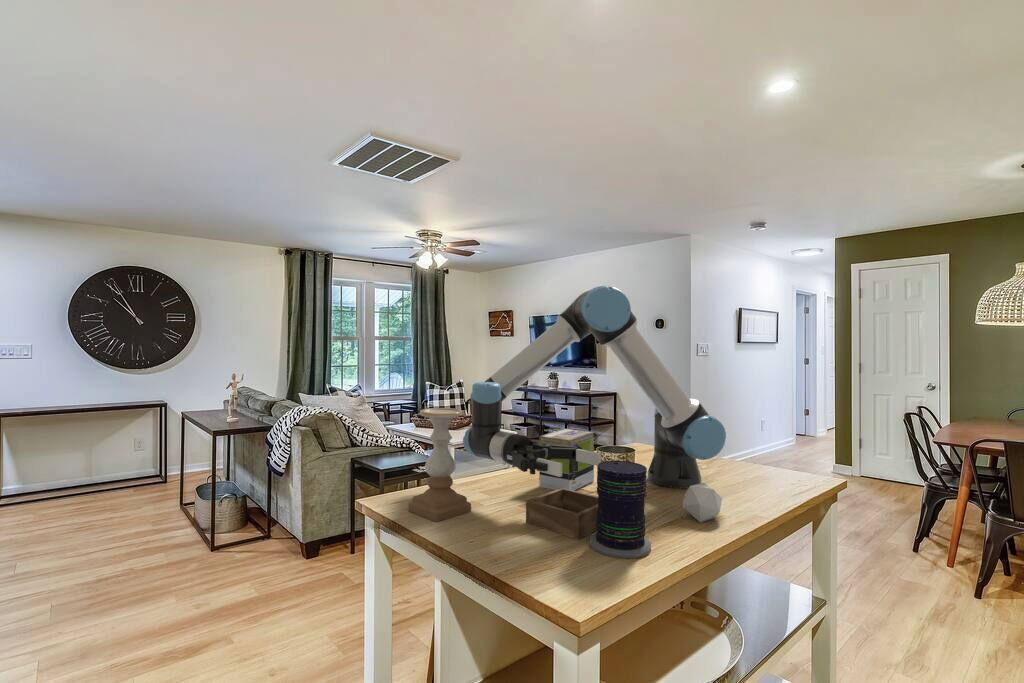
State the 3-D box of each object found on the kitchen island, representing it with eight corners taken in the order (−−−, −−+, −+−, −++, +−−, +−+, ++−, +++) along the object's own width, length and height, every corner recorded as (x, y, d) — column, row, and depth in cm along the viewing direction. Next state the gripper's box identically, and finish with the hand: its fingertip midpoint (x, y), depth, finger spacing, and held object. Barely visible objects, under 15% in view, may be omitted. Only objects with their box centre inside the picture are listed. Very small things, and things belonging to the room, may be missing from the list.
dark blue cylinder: (654, 549, 100) (656, 472, 99) (606, 552, 97) (608, 473, 97) (632, 530, 109) (633, 459, 109) (588, 532, 107) (590, 461, 107)
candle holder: (406, 510, 122) (408, 410, 122) (442, 500, 130) (444, 406, 130) (435, 522, 115) (437, 415, 115) (472, 510, 123) (474, 411, 123)
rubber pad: (608, 530, 112) (609, 525, 112) (661, 545, 104) (661, 540, 104) (578, 546, 103) (578, 541, 103) (633, 564, 95) (633, 559, 95)
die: (699, 512, 127) (677, 481, 126) (732, 502, 122) (708, 469, 121) (695, 534, 120) (671, 502, 119) (729, 524, 115) (704, 490, 115)
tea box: (564, 476, 156) (565, 427, 156) (594, 482, 150) (595, 431, 150) (537, 487, 144) (538, 434, 144) (569, 494, 138) (570, 439, 138)
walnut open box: (561, 508, 126) (562, 487, 126) (612, 522, 117) (612, 500, 117) (525, 522, 115) (526, 500, 115) (578, 539, 106) (578, 515, 106)
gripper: (545, 456, 135) (614, 471, 120) (473, 473, 118) (542, 493, 102) (546, 428, 135) (614, 439, 120) (473, 440, 117) (542, 456, 102)
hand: (581, 464), depth 111 cm, fingers open, 13 cm apart
